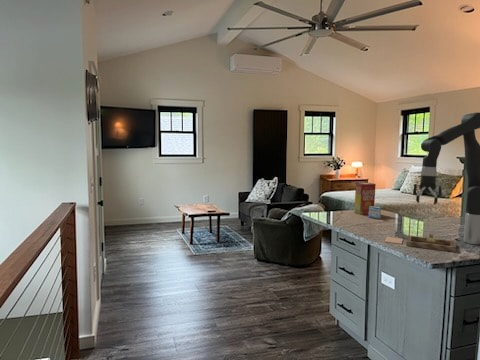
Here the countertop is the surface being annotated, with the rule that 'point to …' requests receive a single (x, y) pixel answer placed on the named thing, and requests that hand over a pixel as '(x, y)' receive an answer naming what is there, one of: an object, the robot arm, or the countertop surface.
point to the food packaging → (364, 197)
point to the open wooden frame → (431, 246)
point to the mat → (394, 240)
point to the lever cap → (430, 238)
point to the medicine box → (375, 212)
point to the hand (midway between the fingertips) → (426, 203)
